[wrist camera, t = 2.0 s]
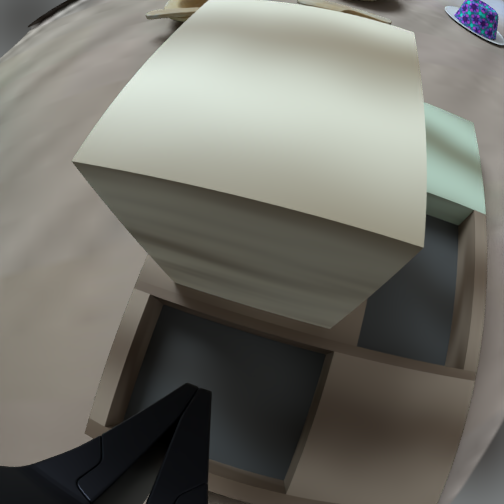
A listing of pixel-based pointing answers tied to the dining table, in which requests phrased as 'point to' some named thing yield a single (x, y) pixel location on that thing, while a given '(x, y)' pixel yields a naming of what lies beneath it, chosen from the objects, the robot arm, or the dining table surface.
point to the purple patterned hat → (477, 19)
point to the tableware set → (187, 3)
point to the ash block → (271, 156)
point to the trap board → (327, 363)
